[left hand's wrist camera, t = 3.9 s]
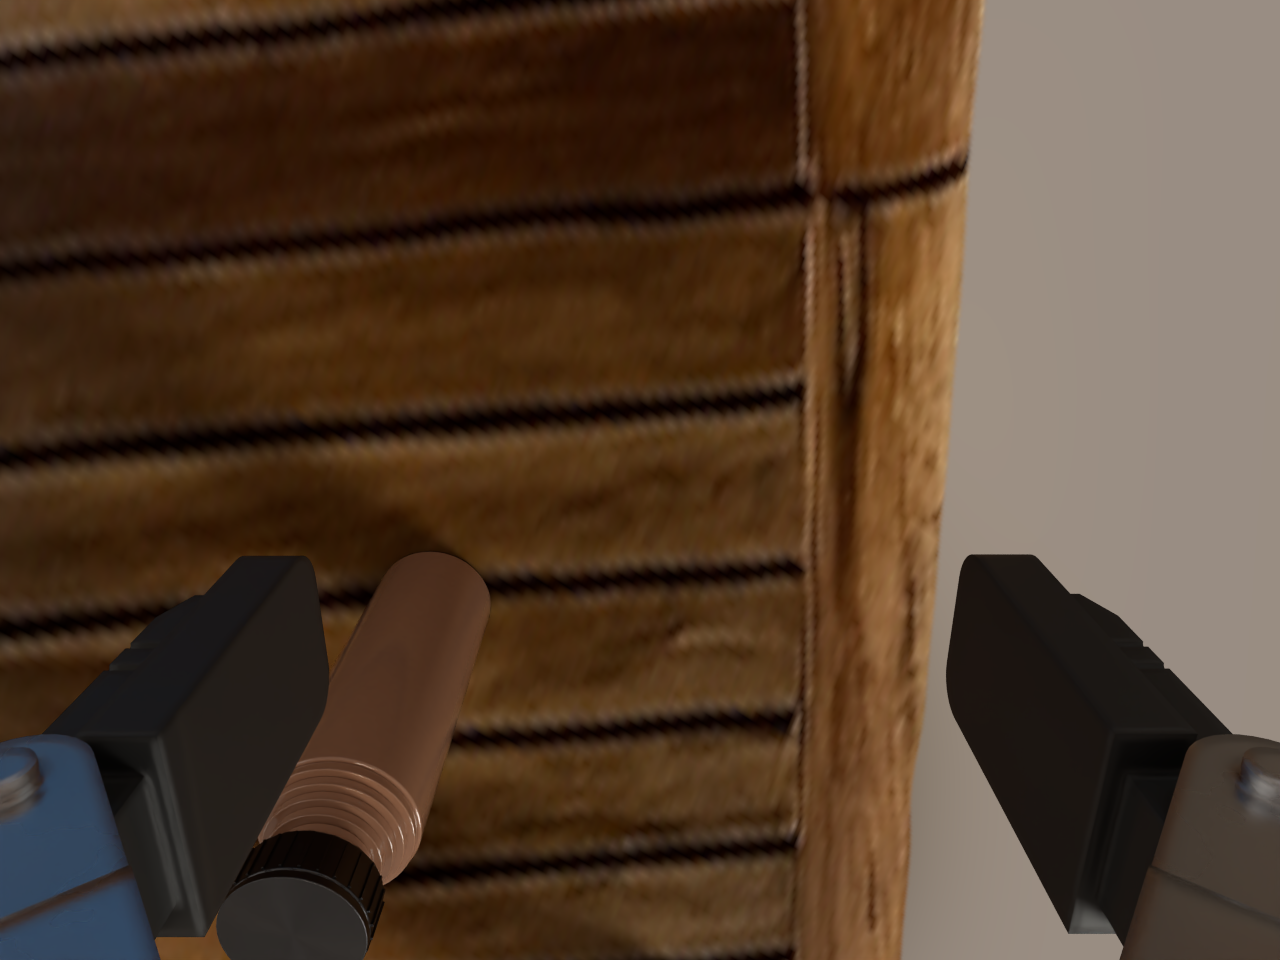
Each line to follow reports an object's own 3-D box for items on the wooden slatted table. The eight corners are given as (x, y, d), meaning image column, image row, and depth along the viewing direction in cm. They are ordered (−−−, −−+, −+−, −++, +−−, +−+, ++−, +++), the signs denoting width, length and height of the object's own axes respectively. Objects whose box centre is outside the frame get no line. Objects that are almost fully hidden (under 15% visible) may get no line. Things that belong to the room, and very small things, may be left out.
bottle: (389, 538, 43) (212, 832, 25) (502, 566, 44) (406, 874, 26) (369, 634, 45) (192, 970, 27) (477, 660, 46) (373, 1007, 28)
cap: (249, 813, 27) (222, 861, 25) (398, 846, 27) (382, 895, 26) (232, 921, 28) (205, 973, 27) (372, 950, 29) (355, 1003, 27)
